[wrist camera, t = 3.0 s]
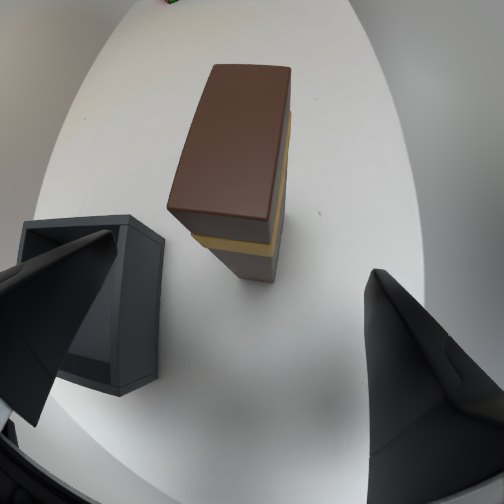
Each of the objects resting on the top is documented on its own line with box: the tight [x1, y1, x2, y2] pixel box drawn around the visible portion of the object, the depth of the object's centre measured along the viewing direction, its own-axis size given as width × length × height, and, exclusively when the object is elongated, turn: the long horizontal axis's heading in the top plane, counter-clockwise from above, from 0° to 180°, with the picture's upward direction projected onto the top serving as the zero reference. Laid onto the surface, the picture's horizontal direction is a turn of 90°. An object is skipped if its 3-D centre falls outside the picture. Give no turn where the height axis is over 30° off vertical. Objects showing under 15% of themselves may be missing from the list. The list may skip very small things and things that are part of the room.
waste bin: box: [17, 215, 165, 397], centre depth 17 cm, size 10×10×6 cm
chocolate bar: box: [167, 64, 291, 283], centre depth 13 cm, size 5×2×13 cm, turn 171°
